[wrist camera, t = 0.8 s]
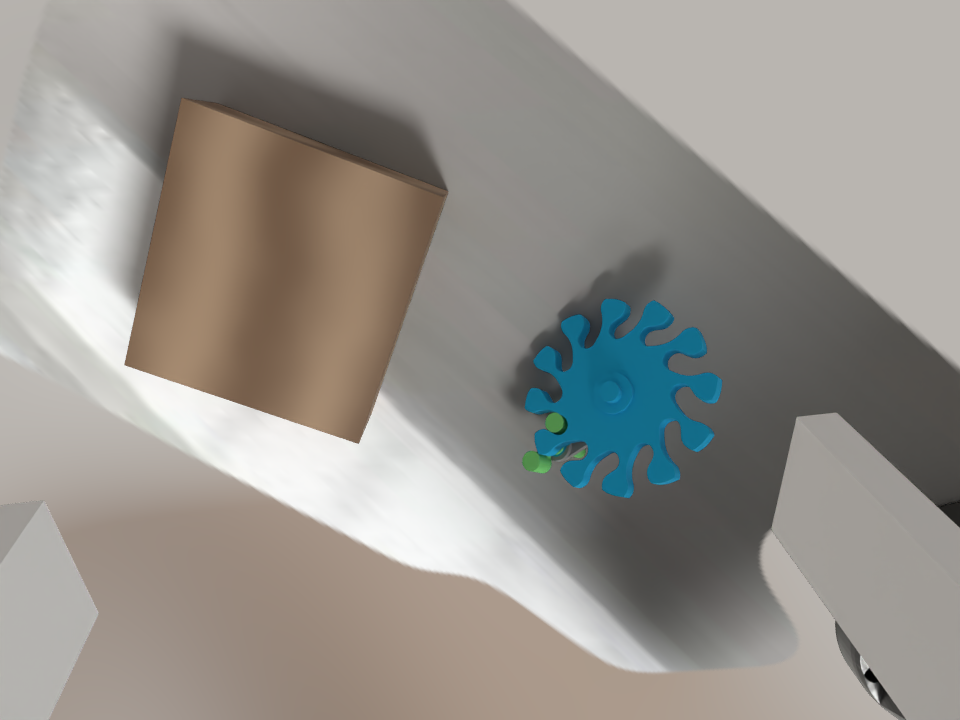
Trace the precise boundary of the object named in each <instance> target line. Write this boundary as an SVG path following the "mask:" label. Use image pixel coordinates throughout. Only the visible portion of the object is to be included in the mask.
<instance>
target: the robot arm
mask: <svg viewBox="0 0 960 720" xmlns="http://www.w3.org/2000/svg"><path fill="white" fill-rule="evenodd" d="M771 530H772V531H773V533H774V534H775V536H776V537H777V538H778V540H779V541H780V543H781V544H782V546H783V547H784V548H785V550H786V551H787V553H788V554H789V555H790V557H791V558H792V560H793V561H794V562H795V564H796V565H797V567H798V568H799V569H800V571H801V572H802V573H803V575H804V576H805V578H806V579H807V580H808V582H809V584H810V585H811V586H812V588H813V589H814V590H815V592H816V593H817V595H818V596H819V598H820V599H821V600H822V602H823V603H824V605H825V606H826V607H827V609H828V610H829V612H830V613H831V614H832V616H833V617H834V619H835V620H836V621H835V627H836V636H837V641H838V645H839V648H840V651H841V653H842V655H843V657H844V659H845V661H846V662H847V664H848V665H849V667H850V668H851V670H852V671H853V673H854V674H855V676H856V677H857V678H858V680H859V681H860V683H861V684H862V686H863V687H864V688H865V690H866V691H867V692H868V693H869V695H870V696H871V697H872V698H873V699H874V700H875V701H876V702H877V703H878V704H879V705H880V706H881V707H883V708H884V709H885V710H887V711H888V712H889V713H891V714H892V715H893V716H894V717H896V718H897V719H898V720H960V502H959V503H954V504H950V505H946V506H943V507H939V508H938V507H937V506H936V505H935V504H934V503H933V502H932V501H930V500H929V499H928V498H927V497H926V496H925V495H924V494H923V493H922V492H921V491H920V490H919V489H918V488H917V487H916V486H914V485H913V484H912V483H911V482H910V481H909V480H908V479H907V478H906V477H905V476H904V475H903V474H902V473H901V472H900V471H898V470H897V469H896V468H895V467H894V466H893V465H892V464H891V463H890V462H889V461H888V460H887V459H886V458H885V457H884V456H882V455H881V454H880V453H879V452H878V451H877V450H876V449H875V448H874V447H873V446H872V445H871V444H870V443H869V442H868V441H866V440H865V439H864V438H863V437H862V436H861V435H860V434H859V433H858V432H857V431H856V430H855V429H854V428H853V427H852V426H850V425H849V424H848V423H847V422H846V421H845V420H844V419H843V418H842V417H841V416H840V415H839V414H838V413H828V414H818V415H809V416H800V417H797V418H796V422H795V427H794V431H793V436H792V440H791V444H790V449H789V453H788V458H787V462H786V467H785V471H784V475H783V480H782V484H781V489H780V493H779V497H778V502H777V506H776V511H775V515H774V519H773V524H772V528H771ZM98 614H99V613H98V611H97V609H96V607H95V605H94V603H93V600H92V598H91V596H90V594H89V592H88V590H87V588H86V586H85V584H84V582H83V580H82V578H81V576H80V573H79V571H78V569H77V567H76V565H75V563H74V561H73V559H72V557H71V555H70V553H69V551H68V549H67V547H66V545H65V542H64V541H63V538H62V536H61V534H60V532H59V530H58V528H57V526H56V524H55V522H54V520H53V518H52V516H51V513H50V511H49V510H48V507H47V505H46V503H45V501H44V500H43V501H33V502H24V503H15V504H6V505H0V720H49V718H50V716H51V714H52V712H53V710H54V707H55V705H56V703H57V701H58V699H59V697H60V695H61V693H62V690H63V688H64V686H65V684H66V682H67V680H68V678H69V676H70V673H71V671H72V669H73V667H74V665H75V663H76V661H77V658H78V657H79V654H80V652H81V650H82V648H83V646H84V643H85V642H86V640H87V637H88V635H89V633H90V631H91V629H92V627H93V625H94V623H95V620H96V618H97V616H98Z"/></svg>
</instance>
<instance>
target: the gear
mask: <svg viewBox="0 0 960 720" xmlns="http://www.w3.org/2000/svg"><path fill="white" fill-rule="evenodd" d="M630 312H631V308H630V306H629V305H627V304H626V303H625V302H623V301H621V300H617V299H605V300H604V301H603V303H602V305H601V313H602V327H601V331H600V334H599V336H598V338H597V340H596V342H595V343H594V345H593V346H592V347H590V348H585V346H584V342H585V339H586V337H587V335H588V333H589V331H590V323H589V321H588V320H587V319H586V318H585V317H583V316H582V315H574V316H571V317H569V318H567V319H565V320H564V321H562V323H561V329H562V331H563V333H564V334H565V335H566V336H567V337H568V339H569V340H570V343H571V345H572V350H573V364H572V366H571V368H570V369H569V370H567V371H565V372H563V370H562V357H561V354H560V353H559V352H558V351H557V350H555V349H553V348H551V347H549V346H546V347H544V348H543V349H542V350H541V351H540V352H539V353H538V355H537V356H536V357H535V359H534V360H533V362H534V364H535V366H536V367H537V368H538V369H540V370H543V371H545V372H547V373H550V374H552V375H553V376H554V377H555V378H556V380H557V381H558V383H559V384H560V386H561V388H562V392H563V393H562V397H561V399H560V400H559V401H558V402H556V403H554V402H553V401H552V399H551V397H550V395H549V394H548V393H547V392H545V391H543V390H540V389H538V388H531V389H530V390H529V392H528V395H527V398H526V402H525V409H526V410H527V411H529V412H532V413H535V414H544V413H549V412H555V413H551V414H549V415H548V416H547V418H546V421H545V425H546V428H547V429H548V430H545V429H541V430H539V431H537V432H536V433H535V444H536V448H537V451H538V452H535V451H529V452H527V453H526V454H525V455H524V457H523V460H522V463H523V466H524V468H525V469H526V470H528V471H533V472H538V473H546V472H548V471H549V470H550V468H551V464H552V463H551V460H553V461H558V462H564V461H567V460H569V459H570V458H572V457H576V458H582V457H583V456H584V455H585V448H587V447H588V453H587V456H586V457H585V458H584V459H582V460H575V461H568V462H566V463H564V465H563V466H562V467H561V470H560V471H561V474H562V475H563V477H564V478H565V479H566V481H567V482H568V483H569V484H571V485H572V486H573V487H577V488H582V487H584V486H586V485H587V484H588V482H589V480H590V477H591V474H592V472H593V470H594V468H595V467H596V465H597V464H598V463H599V462H600V461H601V460H602V459H603V458H605V457H606V456H608V455H609V454H611V453H614V452H615V453H616V454H617V455H618V457H619V465H618V467H617V468H616V469H615V470H614V471H612V472H611V473H609V474H608V475H607V476H606V477H605V478H604V479H603V482H602V490H603V491H605V492H606V493H608V494H611V495H614V496H619V497H625V498H630V497H631V496H632V494H633V491H634V484H633V480H632V468H633V464H634V461H635V459H636V457H637V455H638V453H639V451H640V449H641V448H642V447H644V446H646V445H650V446H651V447H652V449H653V452H654V455H653V459H652V461H651V463H650V464H649V466H648V469H647V476H648V479H649V481H650V482H651V483H652V484H657V485H664V484H669V483H672V482H675V481H677V480H679V479H680V471H679V468H678V466H677V465H676V464H675V463H674V462H673V461H672V460H671V458H670V457H669V455H668V453H667V450H666V446H665V437H664V430H665V427H666V425H667V424H668V423H669V422H671V421H678V422H679V424H680V426H681V439H682V442H683V444H684V445H685V446H686V447H687V448H689V449H691V450H693V451H696V452H699V451H700V450H702V449H703V448H705V447H706V446H707V445H708V444H709V442H710V441H711V440H712V439H713V437H714V436H715V435H714V432H713V431H712V429H711V428H709V427H708V426H706V425H705V424H703V423H701V422H696V421H693V420H691V419H689V418H688V417H687V416H686V415H685V414H684V413H683V412H682V410H681V409H680V407H679V406H678V404H677V403H676V400H675V395H676V393H677V391H678V390H679V389H680V388H682V387H690V388H691V390H692V391H693V393H694V394H695V395H696V397H698V398H699V399H700V400H702V401H704V402H706V403H709V404H713V403H716V402H717V400H718V399H719V396H720V393H721V388H722V380H721V379H720V378H719V377H718V376H716V375H715V374H713V373H702V374H699V375H693V376H686V375H680V374H678V373H675V372H673V371H671V370H669V368H668V360H669V358H670V357H671V356H672V355H674V354H677V353H681V354H684V355H686V356H689V357H691V358H700V357H702V356H704V355H705V354H706V353H707V347H706V343H705V340H704V338H703V336H702V334H701V332H700V331H699V330H698V329H697V328H694V327H692V328H687V329H685V330H684V331H682V333H681V334H680V335H679V336H677V337H676V338H675V339H673V340H672V341H670V342H668V343H665V344H662V345H657V346H646V344H645V338H646V336H647V335H648V333H650V332H651V331H654V330H662V329H666V328H668V327H669V326H670V325H671V324H672V323H673V321H674V317H673V315H672V314H671V313H670V312H669V311H668V310H667V309H666V308H665V307H664V306H662V305H661V304H660V303H658V302H656V301H655V300H653V301H651V302H650V303H648V304H647V305H646V307H645V309H644V312H643V315H642V317H641V320H640V321H639V323H638V324H637V325H636V327H635V328H634V329H633V330H632V331H630V332H629V333H628V334H626V335H625V336H624V337H622V338H619V339H615V336H614V333H615V330H616V328H617V327H618V326H619V325H620V324H622V323H623V322H625V321H626V320H627V319H628V317H629V316H630Z"/></svg>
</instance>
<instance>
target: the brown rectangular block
mask: <svg viewBox="0 0 960 720" xmlns="http://www.w3.org/2000/svg"><path fill="white" fill-rule="evenodd" d="M447 194H448V191H446V190H443V189H441V188H438V187H436V186H433V185H430V184H428V183H425V182H422V181H420V180H417V179H415V178H412V177H409V176H407V175H404V174H402V173H399V172H396V171H394V170H391V169H388V168H386V167H383V166H381V165H378V164H375V163H373V162H370V161H367V160H365V159H362V158H360V157H357V156H354V155H352V154H349V153H346V152H344V151H341V150H339V149H336V148H333V147H331V146H328V145H326V144H323V143H320V142H318V141H315V140H312V139H310V138H307V137H305V136H302V135H299V134H297V133H294V132H291V131H289V130H286V129H284V128H281V127H278V126H276V125H273V124H270V123H268V122H265V121H263V120H260V119H257V118H255V117H252V116H250V115H247V114H244V113H242V112H239V111H236V110H234V109H231V108H229V107H226V106H223V105H221V104H218V103H212V102H206V101H199V100H193V99H186V98H181V103H180V107H179V112H178V117H177V121H176V126H175V131H174V136H173V140H172V145H171V150H170V154H169V159H168V164H167V168H166V173H165V178H164V182H163V187H162V192H161V196H160V201H159V206H158V210H157V215H156V220H155V224H154V229H153V234H152V238H151V243H150V248H149V252H148V257H147V262H146V266H145V271H144V276H143V280H142V285H141V290H140V295H139V299H138V304H137V309H136V313H135V318H134V323H133V327H132V332H131V337H130V341H129V346H128V351H127V355H126V360H125V365H126V366H129V367H132V368H134V369H137V370H140V371H143V372H146V373H149V374H152V375H155V376H158V377H161V378H164V379H167V380H170V381H173V382H176V383H179V384H182V385H185V386H188V387H191V388H194V389H197V390H200V391H203V392H206V393H209V394H212V395H215V396H218V397H221V398H224V399H227V400H230V401H233V402H236V403H239V404H242V405H245V406H248V407H251V408H254V409H257V410H259V411H262V412H265V413H268V414H271V415H274V416H277V417H280V418H283V419H286V420H289V421H292V422H295V423H298V424H301V425H304V426H307V427H310V428H313V429H316V430H319V431H322V432H325V433H328V434H331V435H334V436H337V437H340V438H343V439H346V440H349V441H352V442H355V443H358V444H359V442H360V439H361V437H362V435H363V432H364V430H365V428H366V425H367V423H368V421H369V418H370V416H371V414H372V411H373V408H374V405H375V402H376V399H377V396H378V393H379V391H380V388H381V385H382V382H383V379H384V376H385V373H386V370H387V367H388V365H389V362H390V359H391V356H392V353H393V350H394V347H395V344H396V341H397V339H398V336H399V333H400V330H401V327H402V324H403V321H404V318H405V316H406V313H407V310H408V307H409V304H410V301H411V298H412V295H413V292H414V290H415V287H416V284H417V281H418V278H419V275H420V272H421V269H422V266H423V264H424V261H425V258H426V255H427V252H428V249H429V246H430V243H431V240H432V238H433V235H434V232H435V229H436V226H437V223H438V220H439V217H440V215H441V212H442V209H443V206H444V203H445V200H446V197H447Z"/></svg>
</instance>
